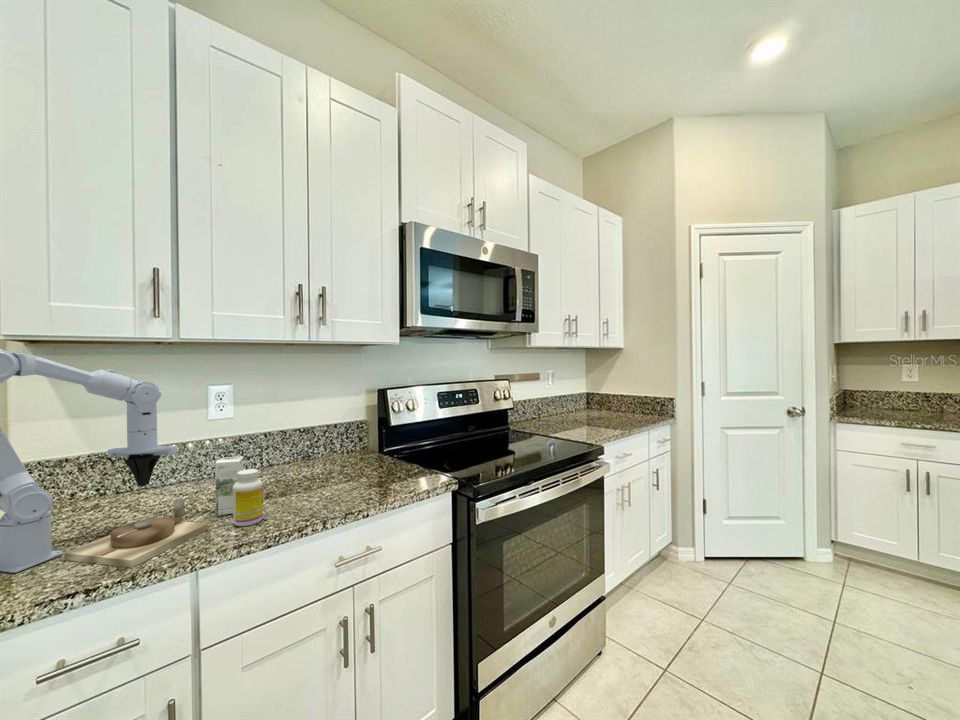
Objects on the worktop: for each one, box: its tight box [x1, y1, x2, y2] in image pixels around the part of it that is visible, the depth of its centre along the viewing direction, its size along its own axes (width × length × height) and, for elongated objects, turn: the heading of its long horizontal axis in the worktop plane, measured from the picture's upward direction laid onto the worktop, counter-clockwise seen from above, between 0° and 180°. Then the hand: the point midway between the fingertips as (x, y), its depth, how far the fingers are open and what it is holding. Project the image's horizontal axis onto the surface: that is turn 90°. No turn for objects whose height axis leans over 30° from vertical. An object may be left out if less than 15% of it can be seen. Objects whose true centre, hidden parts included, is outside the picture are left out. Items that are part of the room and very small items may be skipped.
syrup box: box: [214, 455, 244, 517], centre depth 110 cm, size 6×6×14 cm
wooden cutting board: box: [63, 520, 209, 569], centre depth 91 cm, size 17×18×2 cm
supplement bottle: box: [232, 468, 264, 527], centre depth 103 cm, size 7×7×13 cm
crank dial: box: [110, 498, 186, 548], centre depth 93 cm, size 15×11×5 cm
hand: (143, 484), depth 100 cm, fingers closed
